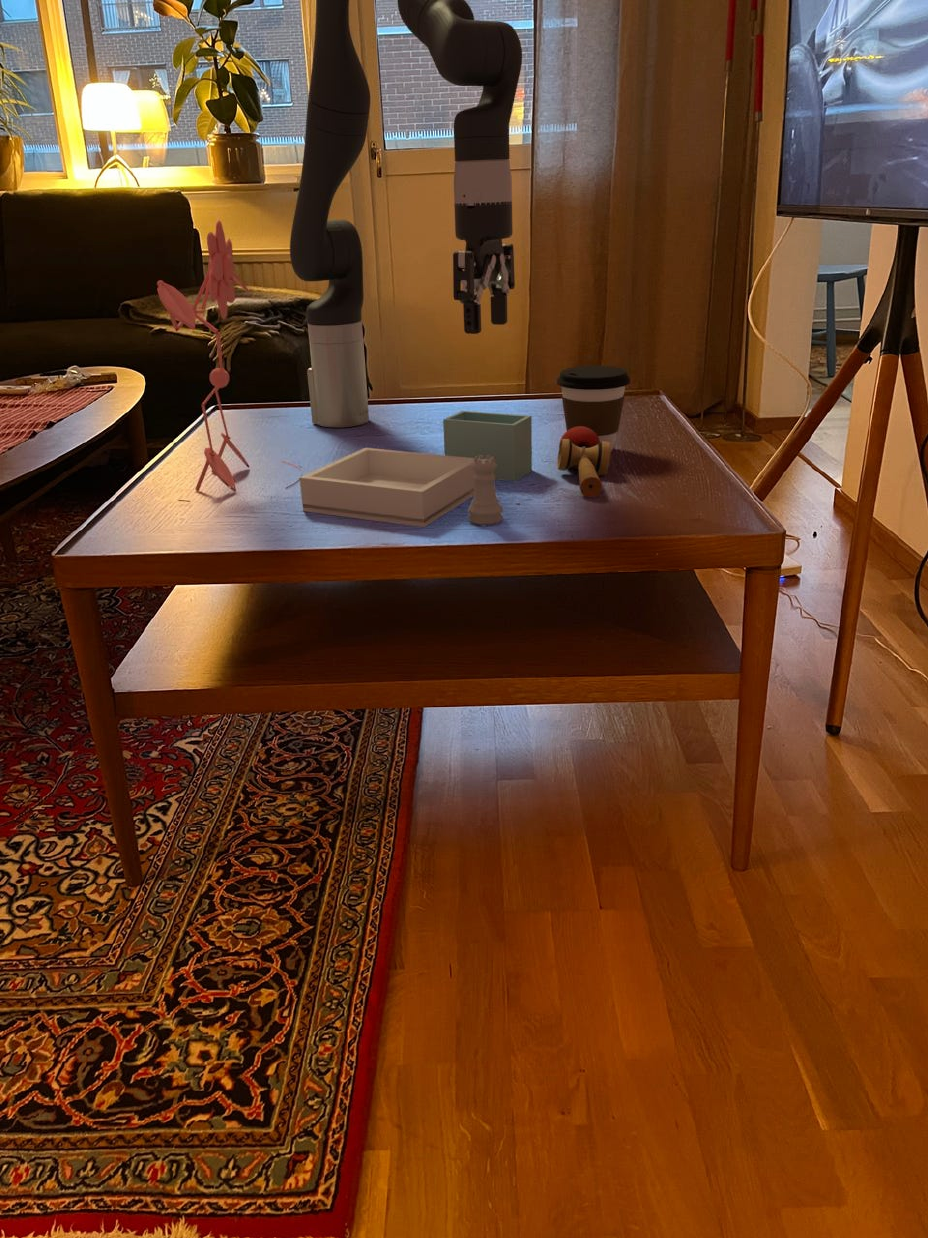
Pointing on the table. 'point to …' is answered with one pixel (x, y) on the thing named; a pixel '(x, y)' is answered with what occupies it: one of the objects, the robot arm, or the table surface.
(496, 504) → the rook chess piece
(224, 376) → the pink thin branched figure
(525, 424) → the teal tote
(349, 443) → the table surface
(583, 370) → the coffee cup
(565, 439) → the kendama
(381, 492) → the beige tray
